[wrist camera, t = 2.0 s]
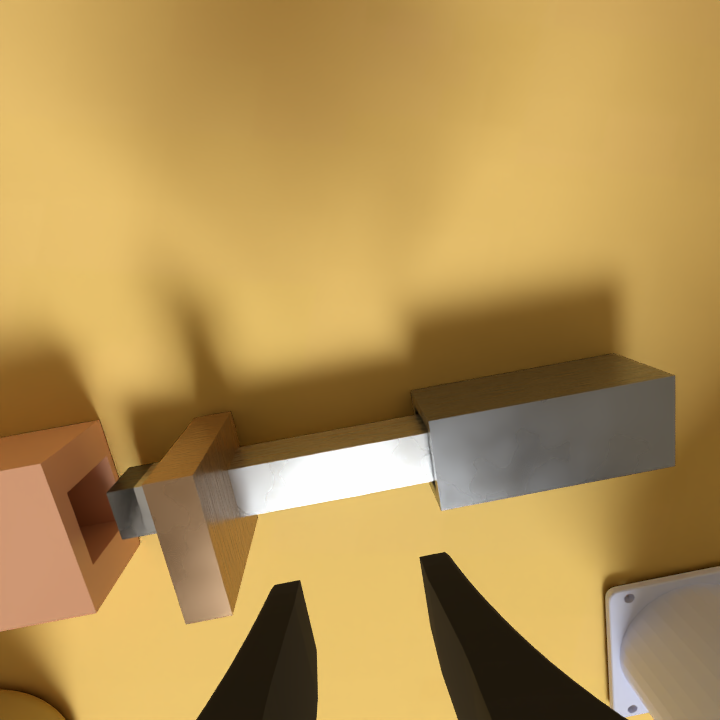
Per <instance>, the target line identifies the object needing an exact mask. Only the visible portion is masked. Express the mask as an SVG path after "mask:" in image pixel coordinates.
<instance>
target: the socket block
mask: <svg viewBox="0 0 720 720" xmlns="http://www.w3.org/2000/svg"><path fill="white" fill-rule="evenodd" d="M118 479H119V478H118V475H117V472H116V469H115V466H114V463H113V460H112V457H111V454H110V451H109V448H108V445H107V442H106V439H105V436H104V433H103V430H102V426H101V423H100V420H96V421H90V422H85V423H79V424H74V425H68V426H63V427H57V428H52V429H46V430H41V431H35V432H30V433H24V434H19V435H13V436H8V437H2V438H0V632H1V631H6V630H11V629H16V628H21V627H27V626H32V625H37V624H42V623H47V622H52V621H58V620H63V619H68V618H73V617H78V616H83V615H89V614H94V613H97V611H98V610H99V608H100V606H101V605H102V603H103V602H104V600H105V599H106V597H107V595H108V594H109V592H110V591H111V589H112V588H113V586H114V584H115V583H116V581H117V580H118V578H119V577H120V575H121V573H122V572H123V570H124V569H125V567H126V566H127V564H128V562H129V561H130V559H131V558H132V556H133V555H134V553H135V551H136V550H137V548H138V547H139V545H140V541H139V538H138V537H134V538H129V539H124V540H122V538H121V535H120V532H119V529H118V526H117V523H116V520H115V517H114V515H113V512H112V509H111V506H110V503H109V500H108V497H107V494H106V493H107V491H108V490H109V489H110V488H111V487H112V486H113V485H114V484H115V483H116V482H117V480H118Z"/></svg>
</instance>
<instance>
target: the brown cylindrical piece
mask: <svg viewBox="0 0 720 720" xmlns="http://www.w3.org/2000/svg"><path fill="white" fill-rule="evenodd" d="M0 720H65V718H64V717H63V716H62V715H61V714H60V713H59V712H58V711H57V710H56V709H55V708H54V707H53V706H51V705H50V704H48V703H47V702H45V701H43V700H41V699H39V698H37V697H35V696H33V695H30V694H27V693H23V692H19V691H13V690H0Z"/></svg>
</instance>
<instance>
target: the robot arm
mask: <svg viewBox="0 0 720 720" xmlns="http://www.w3.org/2000/svg"><path fill="white" fill-rule="evenodd" d="M420 563H421V569H422V575H423V582H424V588H425V594H426V601H427V607H428V613H429V620H430V626H431V630H432V634H433V639H434V643H435V647H436V651H437V655H438V659H439V663H440V667H441V671H442V674H443V677H444V680H445V683H446V686H447V689H448V692H449V695H450V697H451V700H452V703H453V706H454V709H455V712H456V715H457V718H458V720H628V719H626V718H625V717H629V716H634V715H639V714H643V713H648V712H649V713H650V715H651V716H652V717H653V719H654V720H720V566H717V567H712V568H707V569H702V570H697V571H691V572H686V573H681V574H676V575H671V576H666V577H661V578H656V579H651V580H646V581H641V582H636V583H631V584H626V585H621V586H616V587H612V588H610V589H609V590H608V591H607V593H606V596H605V603H606V625H607V648H608V671H609V694H610V707H609V706H607V705H606V704H604V703H603V702H601V701H600V700H599V699H597V698H596V697H594V696H593V695H592V694H591V693H589V692H588V691H587V690H585V689H584V688H583V687H581V686H580V685H579V684H577V683H576V682H575V681H573V680H572V679H571V678H570V677H568V676H567V675H566V674H565V673H564V672H562V671H561V670H560V669H559V668H557V667H556V666H555V665H554V664H553V663H551V662H550V661H549V660H548V659H547V658H545V657H544V656H543V655H542V654H541V653H540V652H539V651H537V650H536V649H535V648H534V647H533V646H532V645H531V644H530V643H529V642H528V641H527V640H525V639H524V638H523V637H522V636H521V635H520V634H519V633H518V632H517V631H516V630H515V629H514V628H513V627H512V626H511V625H510V624H509V623H508V622H507V621H506V620H505V619H504V618H503V617H502V616H501V615H500V614H499V613H498V612H497V611H496V610H495V609H494V608H493V607H492V606H491V605H490V604H489V603H488V602H487V601H486V600H485V598H484V597H483V596H482V595H481V594H480V593H479V592H478V591H477V590H476V588H475V587H474V586H473V585H472V584H471V583H470V581H469V580H468V579H467V578H466V577H465V575H464V574H463V573H462V572H461V570H460V569H459V568H458V567H457V565H456V564H455V563H454V561H453V560H452V558H451V557H450V556H449V555H448V554H447V553H445V552H443V553H438V554H433V555H427V556H422V557H420ZM626 595H627V596H626ZM317 702H318V683H317V650H316V645H315V641H314V637H313V633H312V628H311V624H310V620H309V616H308V612H307V607H306V603H305V599H304V595H303V590H302V586H301V582H300V580H298V581H293V582H288V583H283V584H278V585H274V587H273V588H272V589H271V591H270V593H269V595H268V597H267V599H266V601H265V603H264V605H263V607H262V609H261V611H260V613H259V615H258V617H257V619H256V621H255V623H254V625H253V627H252V628H251V630H250V632H249V634H248V636H247V638H246V639H245V641H244V643H243V645H242V647H241V648H240V650H239V652H238V654H237V655H236V657H235V659H234V661H233V662H232V664H231V666H230V668H229V669H228V671H227V673H226V674H225V676H224V677H223V679H222V680H221V682H220V684H219V685H218V687H217V688H216V690H215V692H214V693H213V695H212V696H211V698H210V700H209V701H208V703H207V704H206V706H205V707H204V709H203V710H202V712H201V713H200V715H199V716H198V718H197V719H196V720H316V717H317Z"/></svg>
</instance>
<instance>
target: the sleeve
mask: <svg viewBox="0 0 720 720" xmlns="http://www.w3.org/2000/svg"><path fill="white" fill-rule="evenodd" d="M411 397H412V403H413V410H414V415H416V414H419V415H420V416H421V418H422V420H423V422H424V424H425V425H426V427H427V429H428V436H429V443H430V450H431V457H432V464H433V471H434V478H435V481H431V482H429V484H430V486H431V488H432V491H433V493H434V495H435V498H436V500H437V502H438V504H439V507H440V509H441V511H442V510H448V509H453V508H458V507H463V506H468V505H474V504H479V503H484V502H489V501H495V500H500V499H505V498H510V497H516V496H521V495H526V494H531V493H537V492H542V491H547V490H552V489H557V488H563V487H568V486H573V485H578V484H584V483H589V482H594V481H599V480H605V479H610V478H615V477H620V476H626V475H631V474H636V473H641V472H646V471H652V470H657V469H662V468H667V467H673V466H675V375H672V374H670V373H667V372H664V371H661V370H659V369H656V368H653V367H650V366H648V365H645V364H642V363H639V362H637V361H634V360H631V359H628V358H626V357H623V356H620V355H617V354H614V353H613V354H608V355H602V356H597V357H591V358H586V359H580V360H575V361H569V362H564V363H558V364H553V365H548V366H542V367H537V368H531V369H526V370H520V371H515V372H509V373H504V374H499V375H493V376H488V377H482V378H477V379H471V380H466V381H460V382H455V383H450V384H444V385H439V386H433V387H428V388H422V389H417V390H411Z"/></svg>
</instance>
